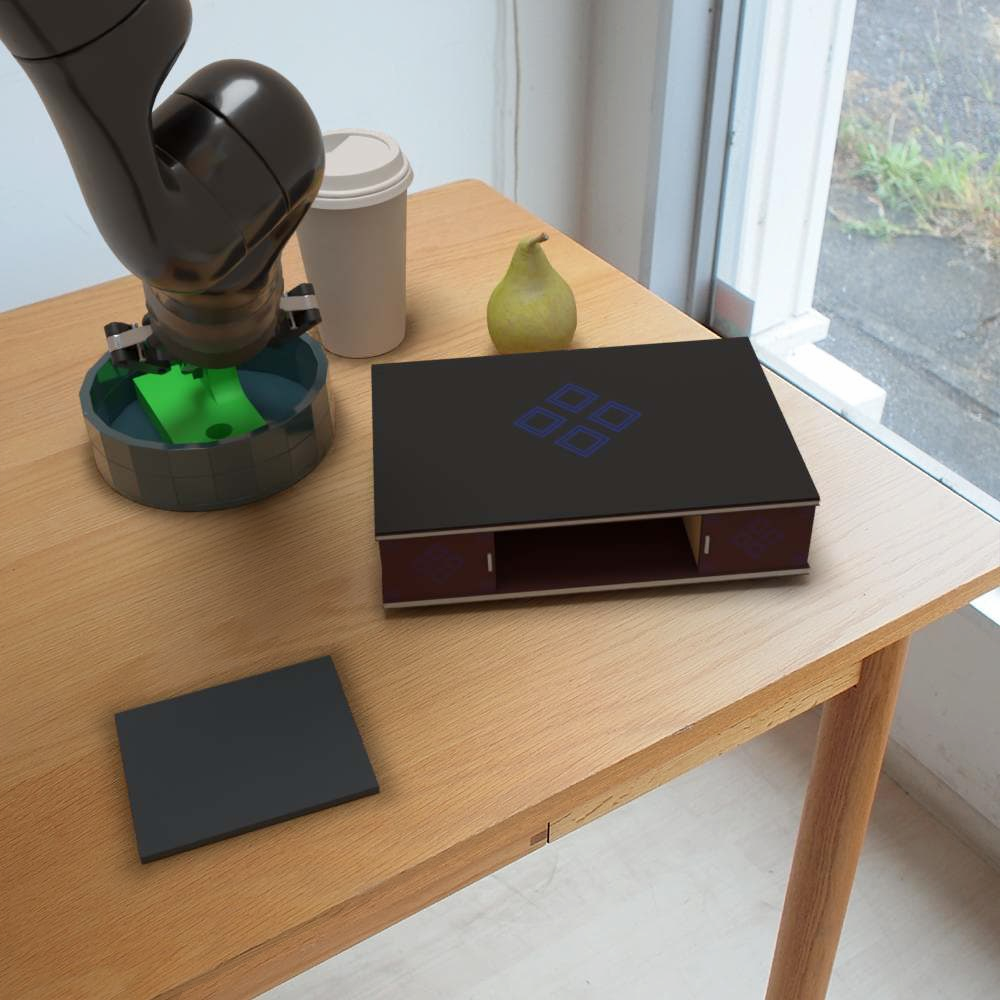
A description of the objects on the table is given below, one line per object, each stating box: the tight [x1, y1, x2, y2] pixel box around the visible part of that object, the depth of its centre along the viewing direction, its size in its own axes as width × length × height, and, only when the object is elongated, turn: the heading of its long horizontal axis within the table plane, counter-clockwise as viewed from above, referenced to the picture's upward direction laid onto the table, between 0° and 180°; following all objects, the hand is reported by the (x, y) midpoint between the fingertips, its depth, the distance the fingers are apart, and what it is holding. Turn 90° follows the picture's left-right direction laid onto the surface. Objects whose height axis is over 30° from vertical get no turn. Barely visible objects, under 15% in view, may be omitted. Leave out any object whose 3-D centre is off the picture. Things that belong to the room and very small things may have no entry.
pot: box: [78, 332, 336, 512], centre depth 90 cm, size 16×16×5 cm
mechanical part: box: [133, 365, 266, 444], centre depth 89 cm, size 12×6×8 cm, turn 30°
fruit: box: [486, 232, 578, 355], centre depth 95 cm, size 7×8×12 cm
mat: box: [113, 654, 381, 864], centre depth 69 cm, size 12×10×1 cm
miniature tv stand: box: [370, 335, 822, 611], centre depth 82 cm, size 17×25×7 cm
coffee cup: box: [295, 128, 414, 359], centre depth 97 cm, size 10×10×15 cm
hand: (215, 359), depth 90 cm, fingers closed on mechanical part, 2 cm apart
